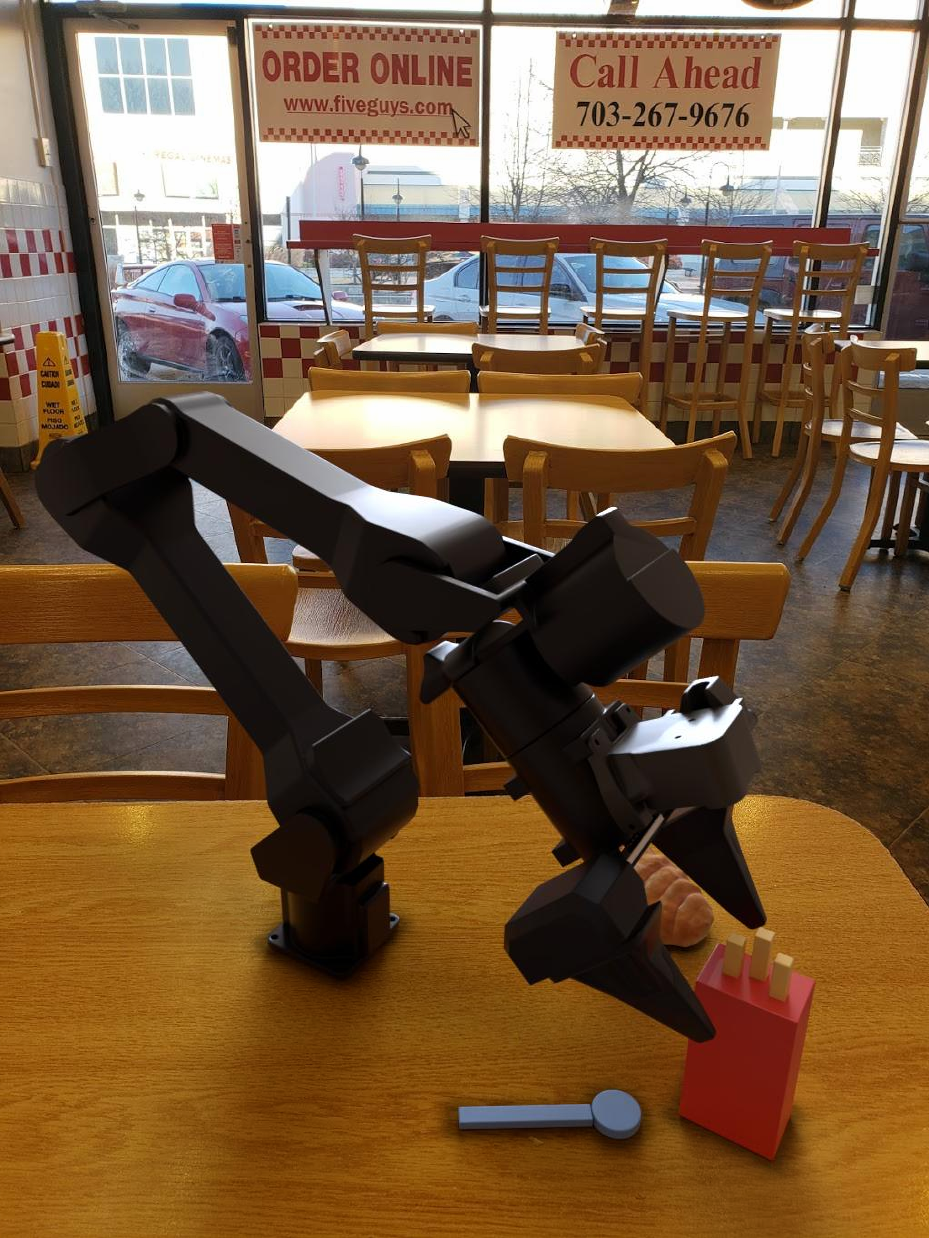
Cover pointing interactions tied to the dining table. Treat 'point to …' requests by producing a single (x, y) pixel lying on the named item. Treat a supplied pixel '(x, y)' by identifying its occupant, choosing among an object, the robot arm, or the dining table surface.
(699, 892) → the pastry
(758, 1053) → the fries carton
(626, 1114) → the spoon
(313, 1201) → the dining table surface
